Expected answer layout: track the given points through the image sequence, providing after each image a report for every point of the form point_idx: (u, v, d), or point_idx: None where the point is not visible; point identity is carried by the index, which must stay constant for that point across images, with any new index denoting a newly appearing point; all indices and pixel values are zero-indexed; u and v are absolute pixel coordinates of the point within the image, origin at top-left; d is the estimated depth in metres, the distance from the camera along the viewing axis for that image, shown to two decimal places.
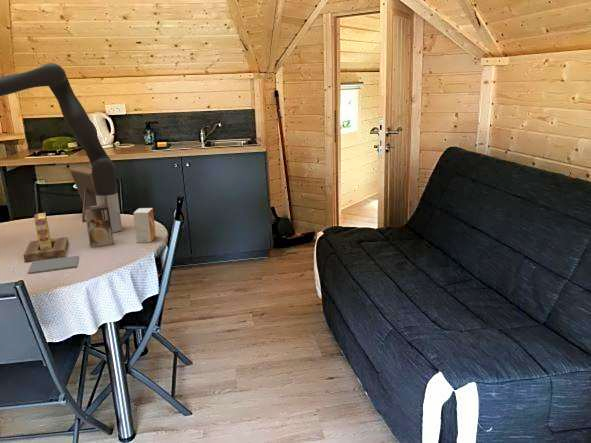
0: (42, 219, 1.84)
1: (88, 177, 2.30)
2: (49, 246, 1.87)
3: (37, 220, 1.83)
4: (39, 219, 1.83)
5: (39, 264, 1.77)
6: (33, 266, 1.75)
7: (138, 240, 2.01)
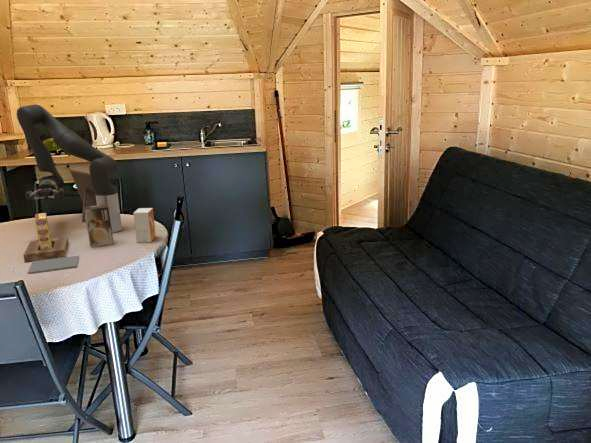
0: (43, 219, 1.84)
1: (88, 177, 2.30)
2: (49, 246, 1.87)
3: (38, 220, 1.83)
4: (40, 219, 1.83)
5: (39, 264, 1.77)
6: (33, 266, 1.75)
7: (138, 240, 2.01)
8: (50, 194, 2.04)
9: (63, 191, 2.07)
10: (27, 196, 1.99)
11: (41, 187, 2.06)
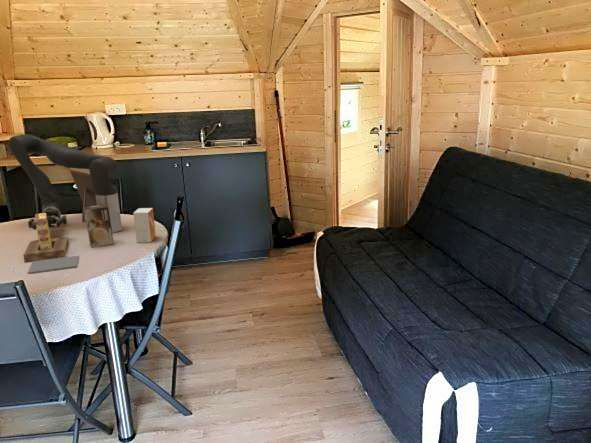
0: (43, 219, 1.84)
1: (88, 177, 2.30)
2: (49, 246, 1.87)
3: (38, 220, 1.83)
4: (40, 219, 1.83)
5: (39, 264, 1.77)
6: (33, 266, 1.75)
7: (138, 240, 2.01)
8: (53, 222, 2.02)
9: None
10: (30, 224, 1.97)
11: None
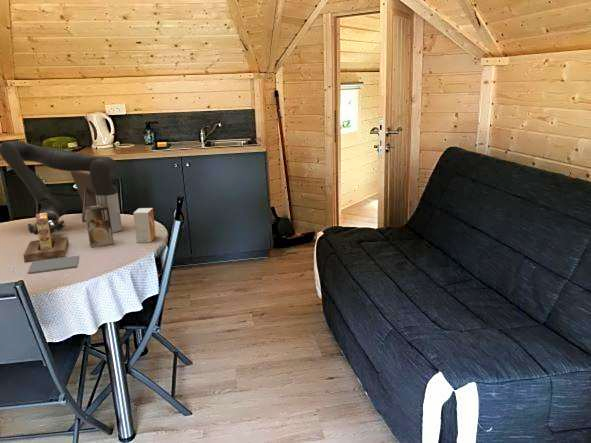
0: (43, 219, 1.84)
1: (88, 177, 2.30)
2: (49, 246, 1.87)
3: (38, 220, 1.83)
4: (41, 219, 1.83)
5: (39, 264, 1.77)
6: (33, 266, 1.75)
7: (138, 240, 2.01)
8: None
9: (63, 224, 1.97)
10: (31, 230, 1.90)
11: None
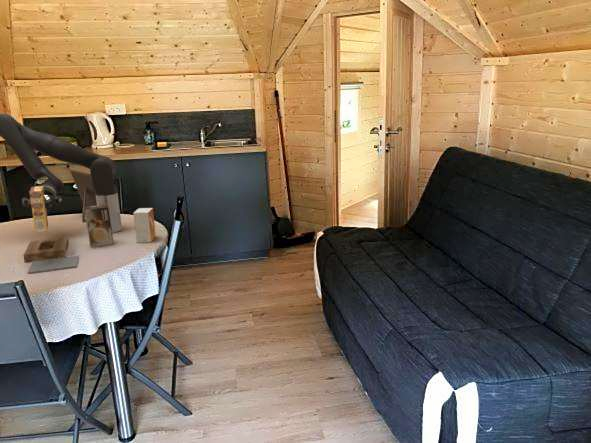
0: (38, 192, 1.70)
1: (88, 177, 2.30)
2: (43, 222, 1.74)
3: (32, 192, 1.70)
4: (34, 192, 1.70)
5: (39, 264, 1.77)
6: (33, 266, 1.75)
7: (138, 240, 2.01)
8: None
9: (60, 199, 1.84)
10: (25, 203, 1.77)
11: None
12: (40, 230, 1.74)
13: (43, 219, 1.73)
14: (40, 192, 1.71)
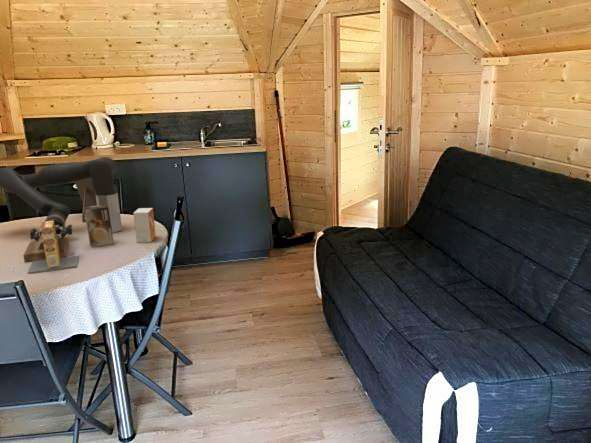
0: (48, 228, 1.70)
1: None
2: (56, 257, 1.73)
3: (43, 229, 1.69)
4: (45, 228, 1.69)
5: (39, 264, 1.77)
6: (33, 266, 1.75)
7: (138, 240, 2.01)
8: (57, 232, 1.80)
9: (71, 228, 1.84)
10: (31, 235, 1.76)
11: None
12: (53, 265, 1.73)
13: (55, 254, 1.72)
14: (51, 228, 1.70)
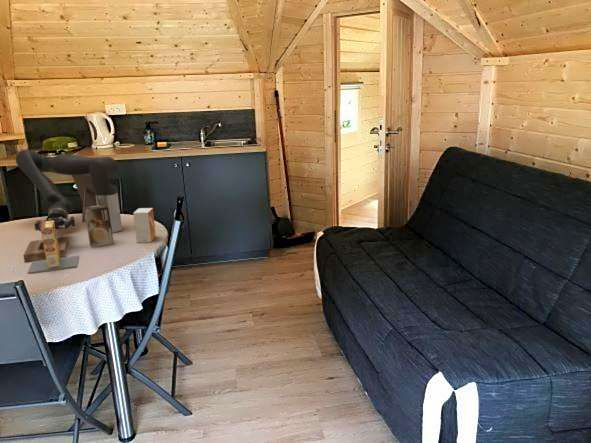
0: (49, 228, 1.70)
1: (88, 177, 2.30)
2: (56, 257, 1.73)
3: (43, 229, 1.69)
4: (45, 228, 1.69)
5: (39, 264, 1.77)
6: (33, 266, 1.75)
7: (138, 240, 2.01)
8: (60, 224, 1.92)
9: (74, 220, 1.96)
10: (36, 227, 1.87)
11: (51, 216, 1.95)
12: (53, 265, 1.73)
13: (55, 254, 1.73)
14: (51, 228, 1.70)
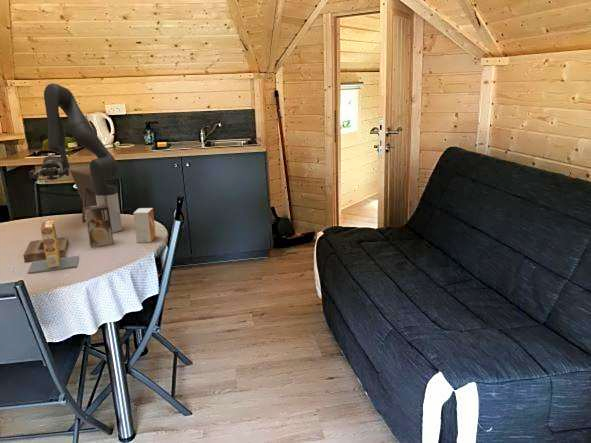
0: (49, 228, 1.70)
1: (88, 177, 2.30)
2: (56, 257, 1.73)
3: (43, 229, 1.69)
4: (45, 228, 1.69)
5: (39, 264, 1.77)
6: (33, 266, 1.75)
7: (138, 240, 2.01)
8: (55, 173, 1.95)
9: (68, 170, 1.98)
10: (31, 175, 1.90)
11: (45, 166, 1.97)
12: (53, 265, 1.73)
13: (55, 254, 1.73)
14: (51, 228, 1.70)
